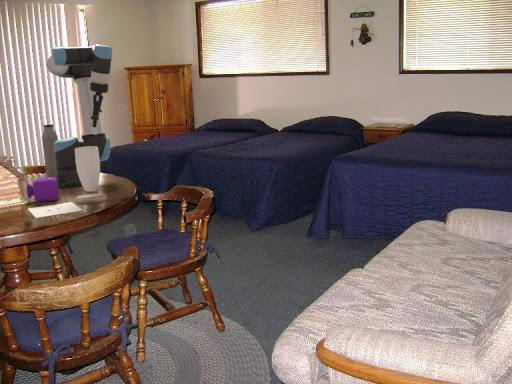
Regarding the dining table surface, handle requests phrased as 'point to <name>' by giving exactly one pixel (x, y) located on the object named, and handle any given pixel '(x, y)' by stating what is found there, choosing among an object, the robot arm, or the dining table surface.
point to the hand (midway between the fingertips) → (94, 130)
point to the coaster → (91, 198)
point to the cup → (88, 166)
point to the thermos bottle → (49, 150)
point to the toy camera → (43, 189)
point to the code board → (54, 210)
